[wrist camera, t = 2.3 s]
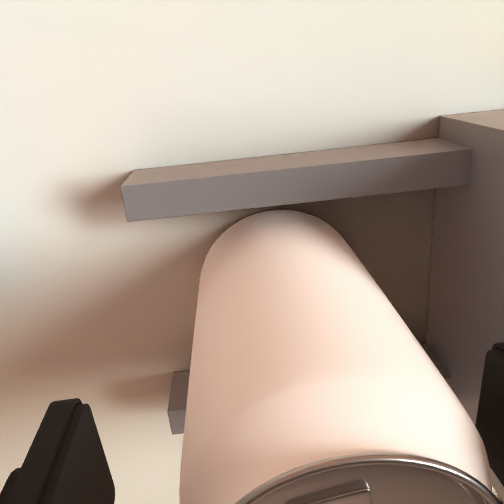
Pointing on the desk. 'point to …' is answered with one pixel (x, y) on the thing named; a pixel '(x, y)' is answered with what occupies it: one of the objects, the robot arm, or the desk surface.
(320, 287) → the can
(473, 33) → the desk surface
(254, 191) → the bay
